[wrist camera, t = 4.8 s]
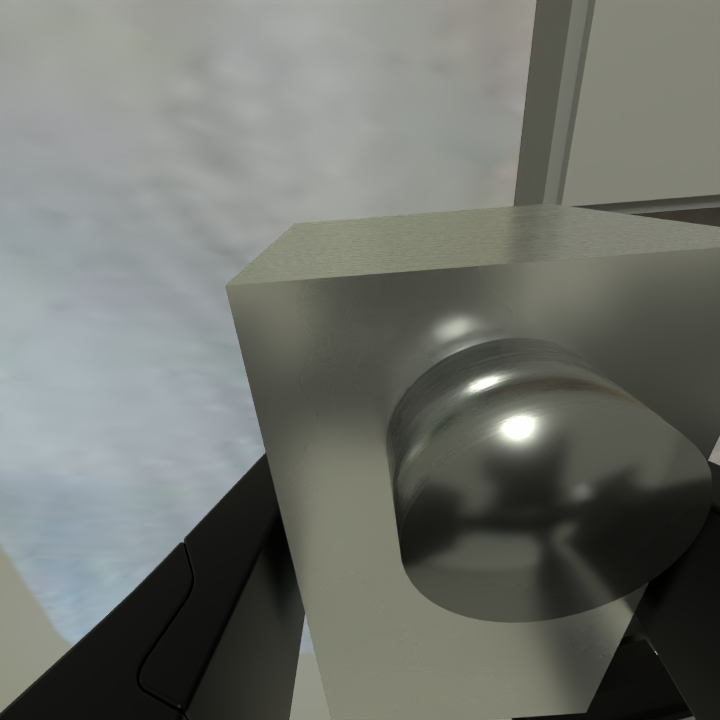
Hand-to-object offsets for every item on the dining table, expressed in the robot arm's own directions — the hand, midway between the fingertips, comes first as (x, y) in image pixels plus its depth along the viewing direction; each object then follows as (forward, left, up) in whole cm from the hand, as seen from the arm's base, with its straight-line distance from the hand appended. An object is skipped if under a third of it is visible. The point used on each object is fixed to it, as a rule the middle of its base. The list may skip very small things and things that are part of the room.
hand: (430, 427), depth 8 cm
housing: (0, 0, -1) cm, 1 cm away
